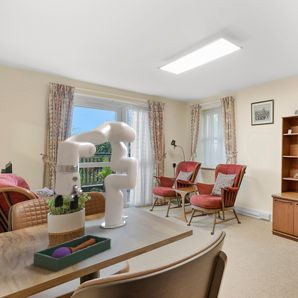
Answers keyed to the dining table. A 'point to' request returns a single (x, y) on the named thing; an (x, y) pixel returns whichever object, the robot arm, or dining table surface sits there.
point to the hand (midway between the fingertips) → (66, 208)
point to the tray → (49, 262)
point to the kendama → (71, 249)
